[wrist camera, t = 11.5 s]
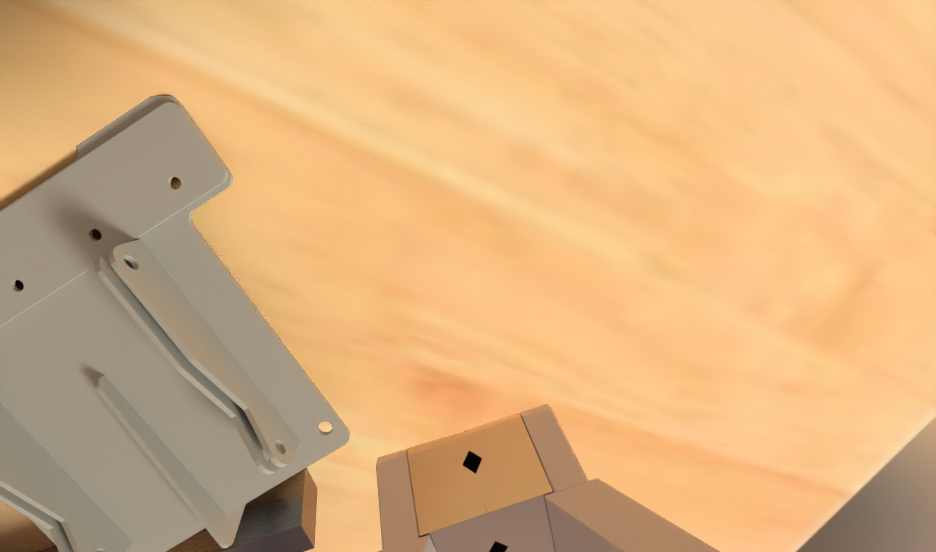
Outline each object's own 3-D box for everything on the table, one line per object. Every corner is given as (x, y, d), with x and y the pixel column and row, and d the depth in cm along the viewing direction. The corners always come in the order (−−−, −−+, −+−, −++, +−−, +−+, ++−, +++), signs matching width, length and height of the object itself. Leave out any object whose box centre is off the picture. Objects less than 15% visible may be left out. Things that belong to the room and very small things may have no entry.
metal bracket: (411, 457, 17) (37, 678, 17) (416, 381, 22) (133, 551, 23) (108, 44, 13) (-333, 343, 14) (204, 78, 19) (-115, 290, 20)
